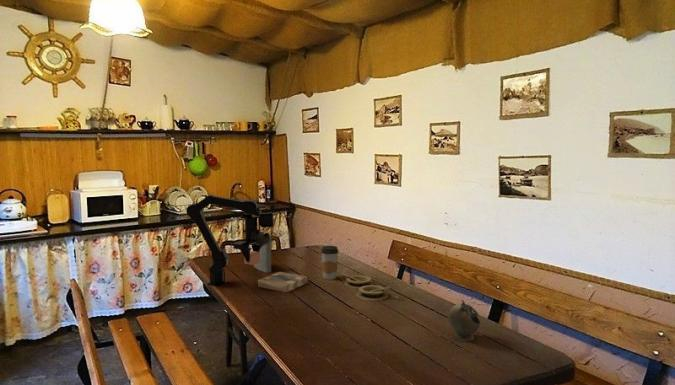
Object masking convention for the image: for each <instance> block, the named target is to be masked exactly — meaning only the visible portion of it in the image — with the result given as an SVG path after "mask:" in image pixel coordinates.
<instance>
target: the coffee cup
mask: <svg viewBox="0 0 675 385" xmlns="http://www.w3.org/2000/svg"><path fill="white" fill-rule="evenodd" d="M320 250H321V252H320V253H321V267H322V268H321V269H322V277H323V279H324V280H328V281H330V280H331V281H332V280H335V279H337V270H338V258H339V248H338V247H337V246H335V245H323V246H322V247H321V249H320Z"/></svg>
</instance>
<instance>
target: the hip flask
mask: <svg viewBox="0 0 675 385" xmlns="http://www.w3.org/2000/svg"><path fill="white" fill-rule="evenodd" d="M260 233H261V234H265V230H260ZM271 243H272V237H271V236H270V240H269V243H267V244H265V245H264V246H262V247H261V249H260V251H259V252H260V263H257V264H254V265H253V267H254V268H255V269H257V270H259V271H261V272H264V273H272V244H271Z"/></svg>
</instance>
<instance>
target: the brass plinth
mask: <svg viewBox="0 0 675 385" xmlns="http://www.w3.org/2000/svg"><path fill="white" fill-rule="evenodd" d="M307 283H308V276H306V275H300V274H295V273H294V274H293V273H288V272H283V271H278V272H275V273H273V274H270V275H267V276H265V277H262V278H260V279H258V280H257V287H258V288H264V289H267V290H268V289H269V290H274V291H278V292H284V293H288V292H290V291H293V290H295V289H297V288H298V287H301V286H304V285H306V284H307Z"/></svg>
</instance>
